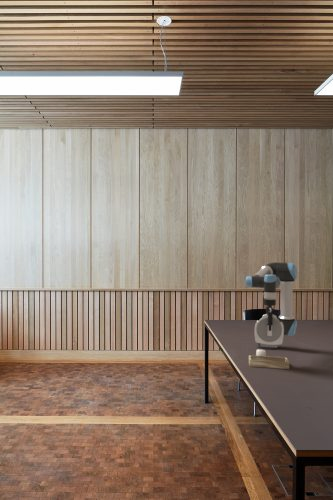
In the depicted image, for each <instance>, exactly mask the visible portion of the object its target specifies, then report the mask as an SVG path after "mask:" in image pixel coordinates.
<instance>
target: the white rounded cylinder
mask: <svg viewBox="0 0 333 500" xmlns="http://www.w3.org/2000/svg"><path fill="white" fill-rule="evenodd" d="M255 350H256V351H255V352H256V353H255V356H267V352H266V350H267V349H263V348H259V349H258V348H257V349H255Z"/></svg>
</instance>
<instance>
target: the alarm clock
mask: <svg viewBox="0 0 333 500" xmlns="http://www.w3.org/2000/svg"><path fill="white" fill-rule="evenodd" d="M272 323H273V325H272V336H267V331H268V325H267V324H268V315H267V314H266V313H265V314H263V315H262V317H261V318H260V319H259V320H256V322H255V324H254V341H255V343H260V346H263V347H275V348H277V345H278V346H279V345H283V341H284V336H285V335H284V327H283V323H282V322H280V321H279V320H278V317H277V315H275V314H273V315H272ZM277 349H278V348H277Z"/></svg>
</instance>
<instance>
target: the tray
mask: <svg viewBox="0 0 333 500" xmlns="http://www.w3.org/2000/svg"><path fill="white" fill-rule="evenodd" d="M248 365H249V367H250V368H251V367H255V368H269V369H270V368H271V369H285V370H286V369H287V370H290V361H289V359H288V358H287V357H286V356H285V357H284V356H283V357H282V356H269V355H268V356H267V355H266V356H256V355H251V354H249V355H248Z"/></svg>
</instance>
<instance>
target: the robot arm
mask: <svg viewBox="0 0 333 500" xmlns="http://www.w3.org/2000/svg"><path fill="white" fill-rule="evenodd" d="M297 279H298V268H297V265H296V264H295V263H294V262H270V263H267V264H264V265H263V266H261V268H259V270H258V271H257V272H256V273H255V274H253V275H246V277H245V286H246V287H247V288H250V289H251V288H258V289H263V293H262V295H263V298H264V299H263V305H265V306H266V308H265V314H267V315H268V324H267V325H268V331H267V336H272V325H273V323H272V315H274V312H273V311H274V308H273V306H276V305H277V300H276V299H277V289H278V288H280V315H279V316H278V317H277V319H278V320H279V321H280V322H282V323H283V327H284V335H283V336H287V337H289V336H290V337H291V336H293V337H294V336H295V335H296V331H297V326H298V321H297V320H296V318H295V316H294V314H293V304H294V303H293V298H294V297H293V296H294V295H293V293H294V292H293V291H294V290H293V284H294V283H295V282H296V280H297ZM256 343H257V342H256ZM256 347H257V348H259V349H263V350H276V349H278V347H279V345H277V348H275V347H263V346H260V343H257V346H256Z"/></svg>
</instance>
